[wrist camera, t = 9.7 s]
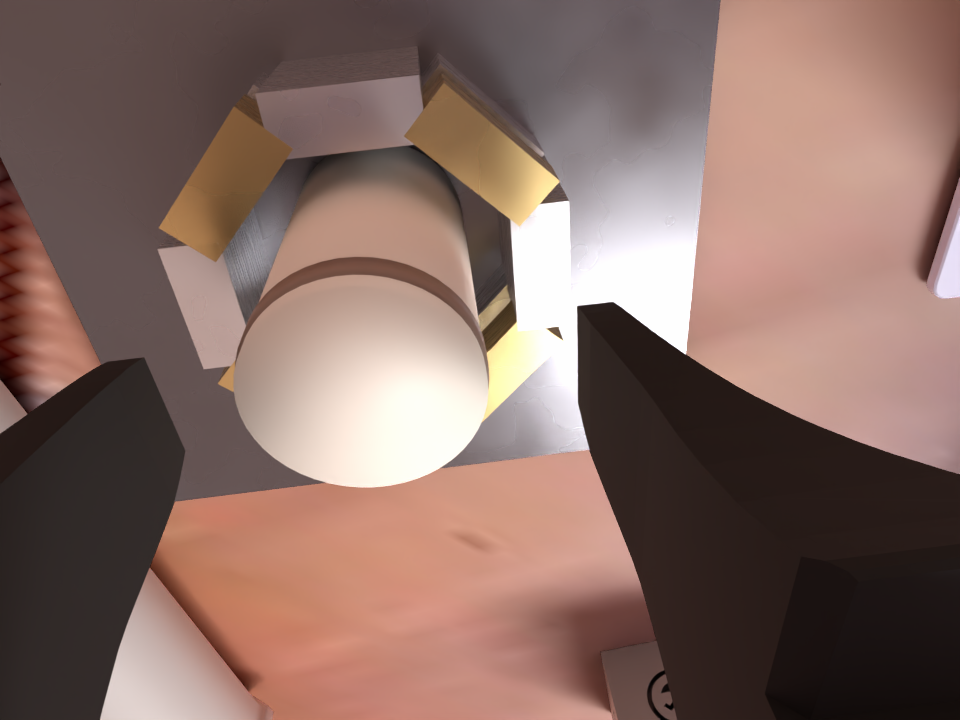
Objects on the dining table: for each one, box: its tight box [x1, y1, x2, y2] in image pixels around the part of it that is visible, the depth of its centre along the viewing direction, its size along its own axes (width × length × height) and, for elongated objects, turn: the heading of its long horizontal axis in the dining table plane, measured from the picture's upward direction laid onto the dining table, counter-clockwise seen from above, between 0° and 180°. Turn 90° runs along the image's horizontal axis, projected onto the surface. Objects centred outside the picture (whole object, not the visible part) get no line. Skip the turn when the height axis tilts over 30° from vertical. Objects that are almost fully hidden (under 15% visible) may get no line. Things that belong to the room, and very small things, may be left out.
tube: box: [0, 380, 273, 720], centre depth 19 cm, size 5×5×25 cm
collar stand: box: [0, 0, 720, 502], centre depth 16 cm, size 16×16×4 cm
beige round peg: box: [233, 146, 489, 487], centre depth 14 cm, size 4×4×7 cm
